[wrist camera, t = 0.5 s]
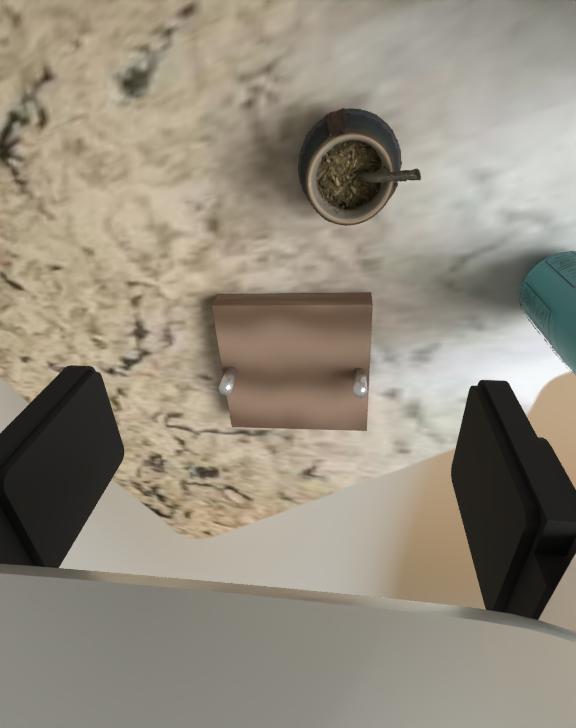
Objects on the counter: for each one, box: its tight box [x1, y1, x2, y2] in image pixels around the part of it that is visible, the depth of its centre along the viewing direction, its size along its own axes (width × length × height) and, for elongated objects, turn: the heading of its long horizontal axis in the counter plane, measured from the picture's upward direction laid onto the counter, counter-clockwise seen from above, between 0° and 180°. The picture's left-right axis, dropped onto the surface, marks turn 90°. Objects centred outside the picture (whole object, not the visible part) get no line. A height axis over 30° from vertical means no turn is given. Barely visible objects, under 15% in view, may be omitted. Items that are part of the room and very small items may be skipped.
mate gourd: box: [298, 109, 421, 226], centre depth 30 cm, size 7×8×10 cm
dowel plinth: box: [212, 293, 372, 431], centre depth 42 cm, size 14×14×6 cm
